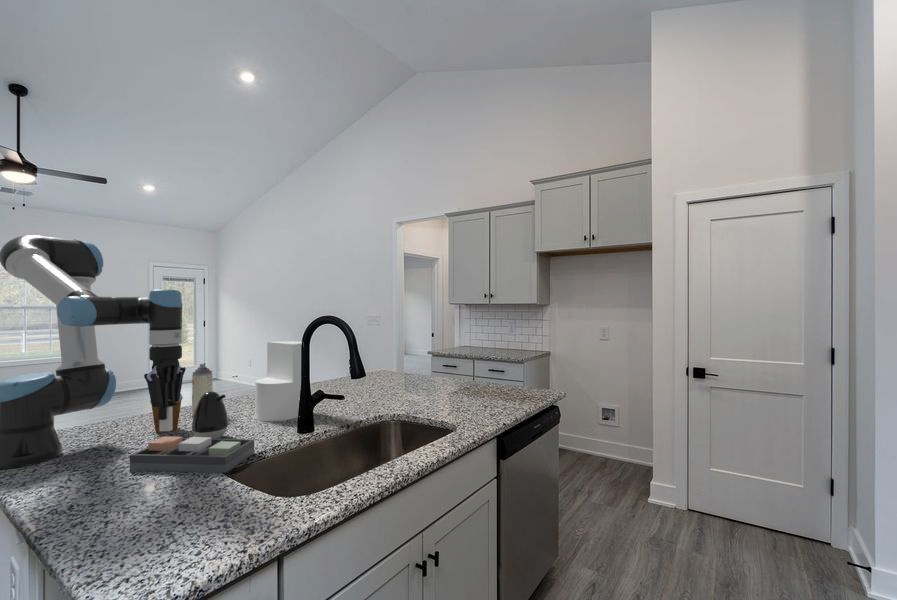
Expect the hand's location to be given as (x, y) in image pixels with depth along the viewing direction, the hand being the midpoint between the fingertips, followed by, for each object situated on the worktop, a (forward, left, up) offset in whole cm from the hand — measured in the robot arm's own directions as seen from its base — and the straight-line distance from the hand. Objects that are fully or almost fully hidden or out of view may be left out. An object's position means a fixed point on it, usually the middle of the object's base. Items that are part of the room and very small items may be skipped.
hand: (166, 430), depth 117 cm
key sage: (+17, 0, -6) cm, 18 cm away
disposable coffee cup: (-21, +27, -9) cm, 35 cm away
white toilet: (+9, +48, -9) cm, 50 cm away
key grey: (+8, 0, -5) cm, 10 cm away
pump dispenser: (0, +19, -9) cm, 21 cm away
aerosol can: (-21, +46, -9) cm, 51 cm away
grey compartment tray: (+8, 0, -8) cm, 12 cm away
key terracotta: (0, 0, -5) cm, 5 cm away
